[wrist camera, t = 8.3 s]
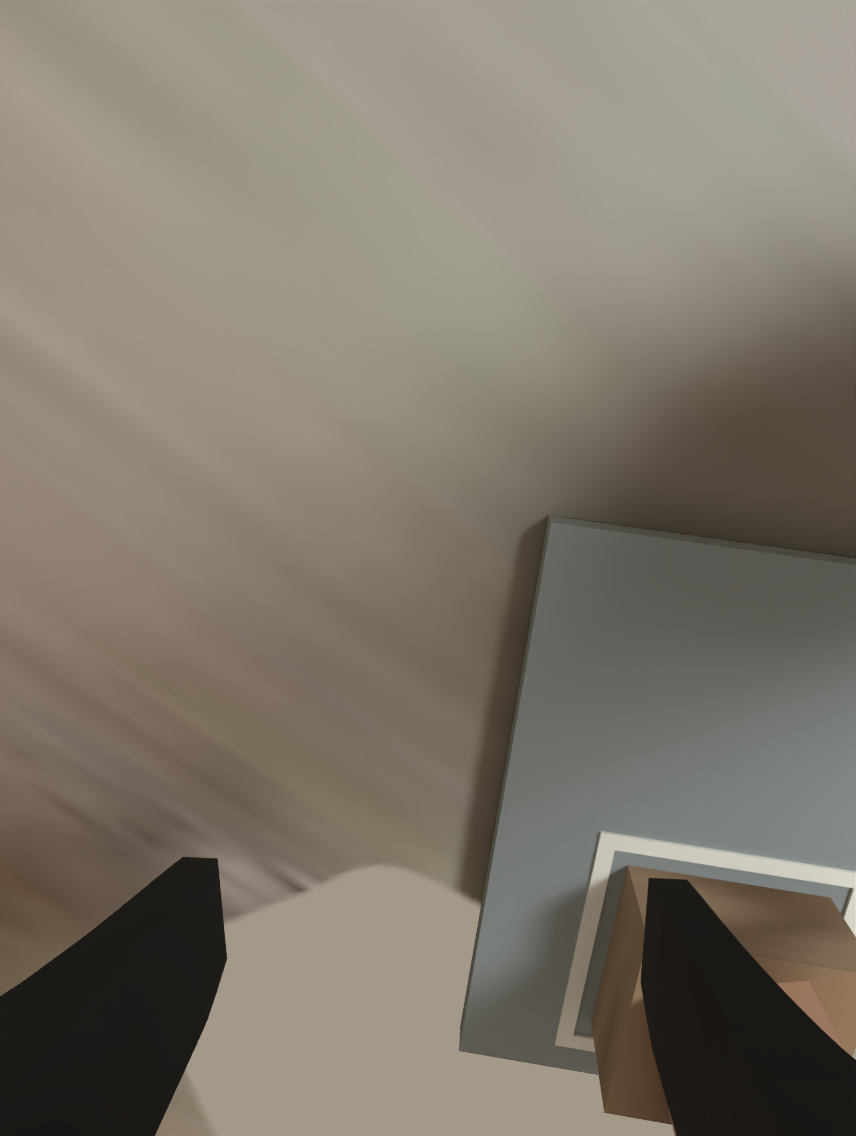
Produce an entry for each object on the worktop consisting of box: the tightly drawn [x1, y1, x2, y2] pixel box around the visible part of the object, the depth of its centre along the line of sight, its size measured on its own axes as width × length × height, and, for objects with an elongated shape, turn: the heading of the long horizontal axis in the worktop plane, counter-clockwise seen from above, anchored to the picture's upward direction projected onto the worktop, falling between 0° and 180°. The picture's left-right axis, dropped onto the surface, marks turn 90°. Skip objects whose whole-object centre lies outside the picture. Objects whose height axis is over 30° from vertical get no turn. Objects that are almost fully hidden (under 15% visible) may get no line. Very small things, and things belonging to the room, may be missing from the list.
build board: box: [459, 515, 856, 1075], centre depth 23 cm, size 12×18×1 cm, turn 173°
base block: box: [591, 865, 856, 1124], centre depth 22 cm, size 6×6×3 cm
